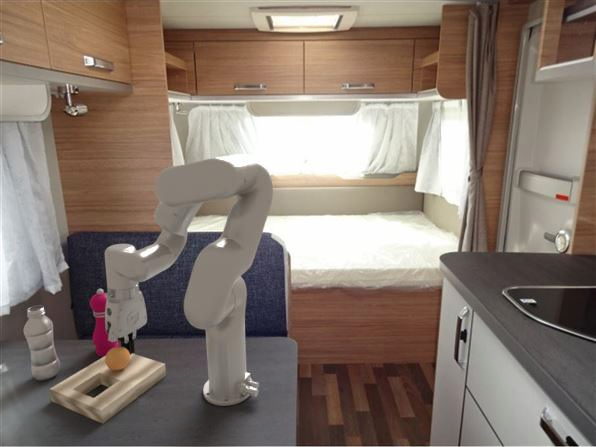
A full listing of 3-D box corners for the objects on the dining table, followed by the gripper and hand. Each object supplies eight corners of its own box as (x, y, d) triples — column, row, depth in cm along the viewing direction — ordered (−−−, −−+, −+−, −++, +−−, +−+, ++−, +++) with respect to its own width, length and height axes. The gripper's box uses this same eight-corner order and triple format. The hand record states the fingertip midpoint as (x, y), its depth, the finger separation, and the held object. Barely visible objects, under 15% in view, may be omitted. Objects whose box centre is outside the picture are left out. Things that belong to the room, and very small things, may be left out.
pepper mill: (110, 358, 116) (102, 294, 111) (88, 355, 117) (79, 292, 112) (125, 345, 123) (118, 285, 118) (105, 343, 124) (97, 283, 119)
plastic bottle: (66, 372, 109) (56, 305, 105) (42, 386, 103) (30, 316, 99) (51, 366, 112) (40, 301, 107) (27, 380, 106) (14, 311, 101)
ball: (137, 352, 108) (126, 341, 104) (130, 373, 104) (118, 363, 100) (117, 353, 109) (105, 343, 105) (109, 375, 105) (96, 364, 101)
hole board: (166, 375, 108) (165, 363, 107) (102, 423, 90) (101, 410, 89) (118, 359, 115) (117, 348, 114) (51, 401, 98) (49, 388, 97)
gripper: (108, 305, 96) (114, 371, 101) (155, 284, 109) (159, 343, 114) (88, 298, 100) (94, 362, 104) (136, 278, 112) (140, 336, 117)
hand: (128, 352), depth 109 cm, fingers closed
